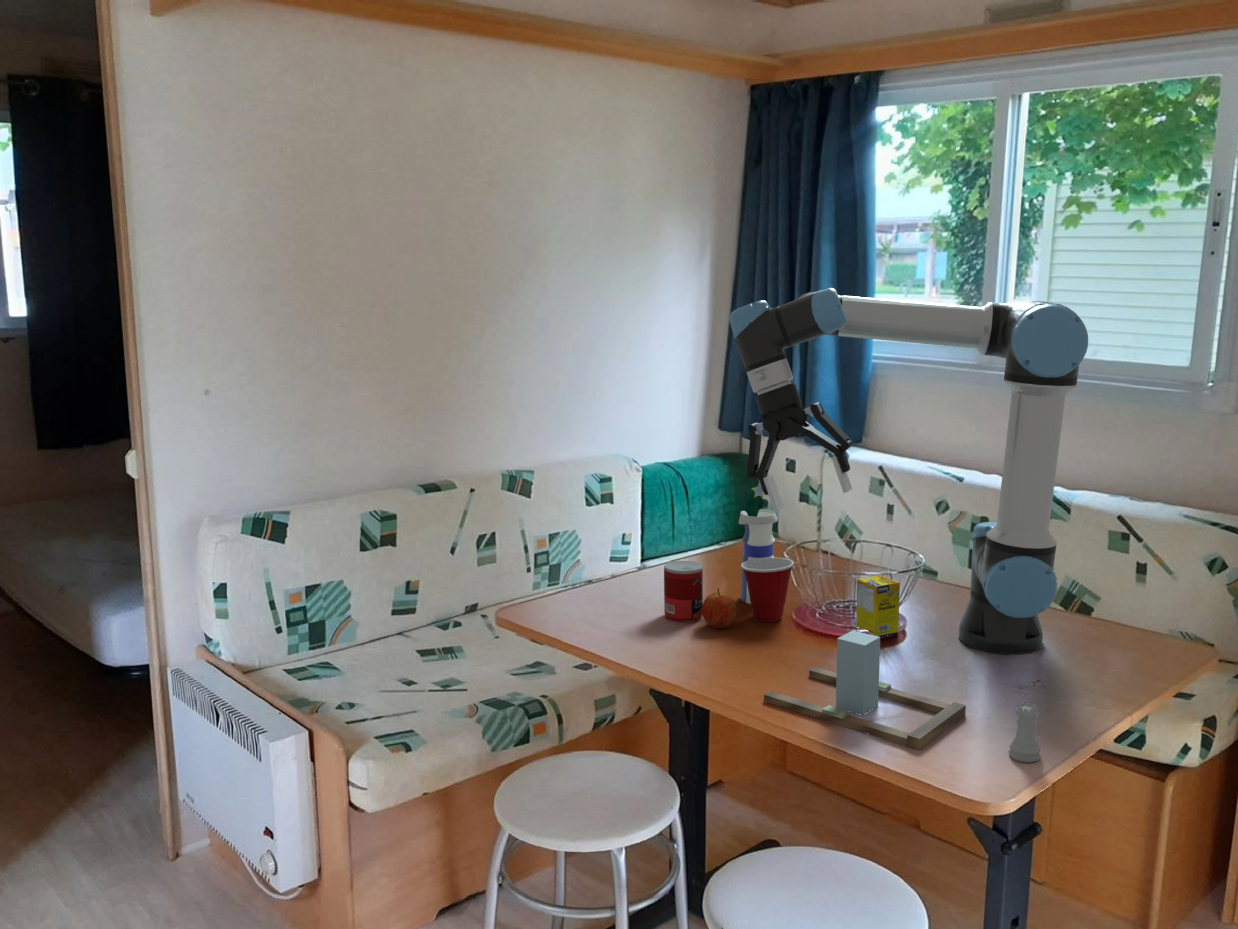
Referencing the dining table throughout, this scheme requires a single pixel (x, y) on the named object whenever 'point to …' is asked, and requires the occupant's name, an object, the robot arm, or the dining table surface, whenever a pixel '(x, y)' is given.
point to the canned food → (683, 591)
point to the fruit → (719, 610)
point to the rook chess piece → (1025, 735)
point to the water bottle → (756, 539)
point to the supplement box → (878, 605)
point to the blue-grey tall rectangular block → (857, 672)
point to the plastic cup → (767, 586)
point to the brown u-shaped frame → (915, 739)
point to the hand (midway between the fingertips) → (813, 501)
